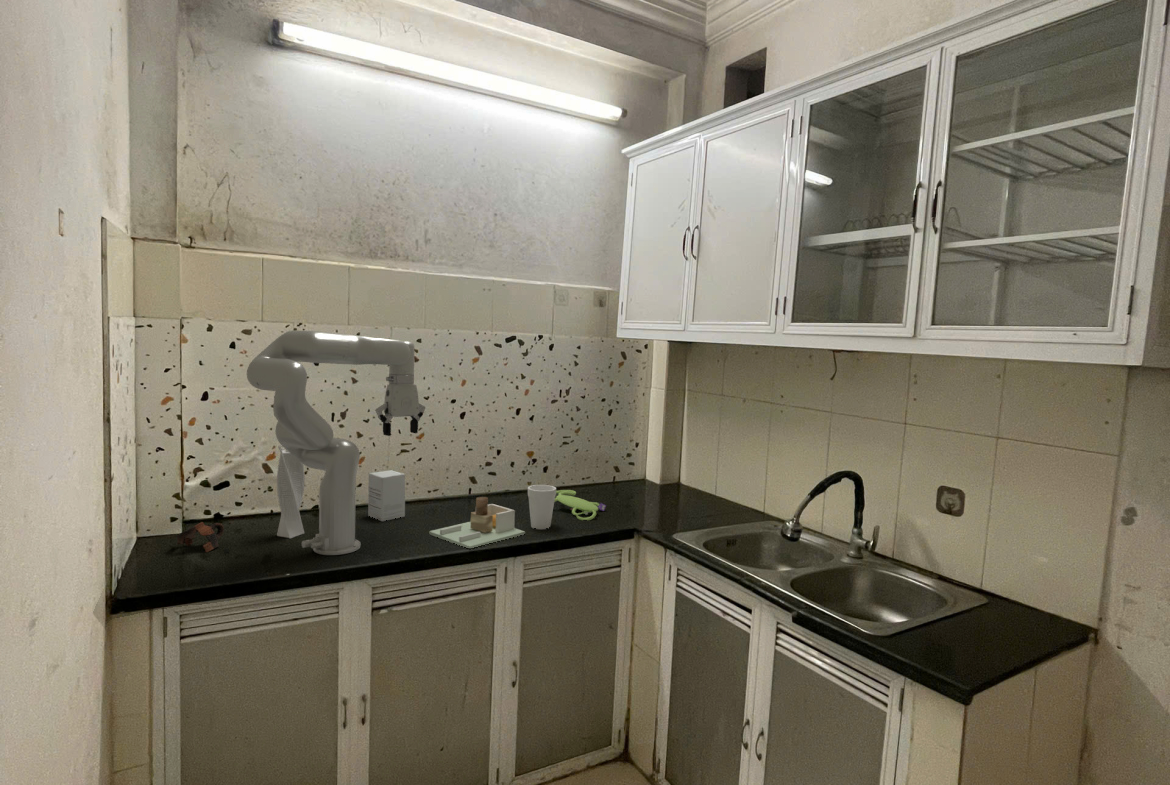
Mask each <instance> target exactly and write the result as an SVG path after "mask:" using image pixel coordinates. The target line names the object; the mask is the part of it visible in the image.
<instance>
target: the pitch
mask: <svg viewBox="0 0 1170 785" xmlns="http://www.w3.org/2000/svg"><path fill="white" fill-rule="evenodd" d="M515 512H516V510H514V509H511V508H509V507H505V506H501V505H497V504H496V503H495V504H494V503H488V512H487V514H490V515H496V527H493V526H492V531H490V532H486V533H484V532H481V531H478V530H475V529H472V528H471V521H467V522H463V523H459V524H454V525H450V526H445V527H441V528H437V529H432V530H429V532H428V533H429V534H428V535H430V536H433V537H435V538H437V537H438V539H440V540H443V541H445V540H446V542H448V541H449V543H451V544H453V543H455V544H454V545H456V544H457V545H456V546H459V545H460V546H459V547H461V546H463V547H462V548H464V547H466V548H474V547H478V546H481V545H485V544H489V543H493V542H496V543H498V542H497V541H500V542H502V541H501V540H504V541H506V540H505V539H507V540H510V539H509V538H511V539H513V537H514V538H518V537H521V536H520V535H522V536H525V535H526V531H524V530H521V529H519V528H516V527H515V520H516V519H515V518H516V517H515V516H516V515H515ZM524 534H525V535H524ZM517 536H518V537H517ZM493 544H494V543H493ZM489 545H490V544H489ZM485 546H486V545H485ZM466 548H465V549H466ZM478 548H479V547H478Z"/></svg>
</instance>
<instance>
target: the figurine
mask: <svg viewBox="0 0 1170 785" xmlns="http://www.w3.org/2000/svg"><path fill="white" fill-rule="evenodd" d="M576 494H577V492H576V491H575V490H573V489H572V490H571V489H560V490H556V496H555V501H554V503H556V502H560V503H561V504H563V505H565V506H567V507H570V509H569V510H571V514H572V515H574V516H576V518H577V520H579V521H583V520H587V521H591V520H594V519H595V517H596V516H597V511H602V512H604V511H605V509H606V507H607V505H606V504H604V503H602V502H600V501H598V502H593V501H588V500H586V499H583V498H580V497H576ZM577 510H580V511H581V512H578V513H577V512H576V511H577ZM591 513H592V515H591V516H587V515H589V514H591ZM582 514H583V515H585V516H587V517H582V516H580V515H582Z"/></svg>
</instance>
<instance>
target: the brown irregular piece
mask: <svg viewBox="0 0 1170 785" xmlns="http://www.w3.org/2000/svg"><path fill="white" fill-rule="evenodd" d="M215 529H217V532H215ZM224 532H225V527H224V525H223V524H222V523H220V522H214V523H212V524H210V525H205V524H204V522H203V521H201V522H198V523H197V524H196V525H194V526H192V527H190V528H188V529H186V530H183V531H182V532H181V533H178V534H177V535H175V538H176V539H177V544H176V545H184V544H185V545H186V546H188V547H190V546H191V545H192V544H193V542H194V541H193V540H194V539H196V533H199V535H200V536H202V537H206V539H207V540H208V542H206V543H205V544H204V545H202V547H203V549H204V550H205V553H209V552H210V551H212V550H215V549H217V548H219V542H218V541H219V538H221V537H222V536H223V534H224ZM189 545H190V546H189Z"/></svg>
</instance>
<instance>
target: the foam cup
mask: <svg viewBox="0 0 1170 785" xmlns="http://www.w3.org/2000/svg"><path fill="white" fill-rule="evenodd" d="M556 491H557V487H555V486H553V485H548V484H534V485H530V486H527V496H528V506H529V516H530V518H529V520H530V527H531V528H532V529H534V528H536V529H535V530H547V529H546V528H548V529H549V527H550V528H551V524H552V519H553V512H554V511H553V510H554V505H555V502H554V501H555V498H556V496H557V494H556Z"/></svg>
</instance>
